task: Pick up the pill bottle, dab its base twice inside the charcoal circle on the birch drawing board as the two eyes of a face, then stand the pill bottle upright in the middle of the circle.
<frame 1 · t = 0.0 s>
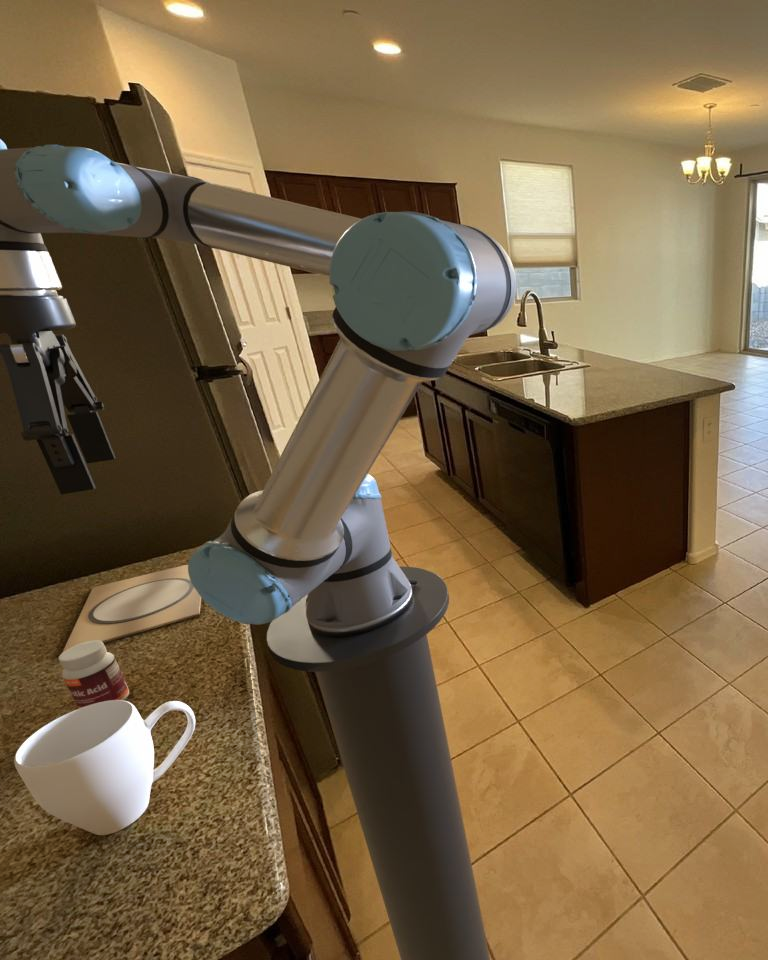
hand: (91, 475, 65), 29 cm above the countertop, tool pointing down, fingers open, 13 cm apart
pill bottle: (106, 703, 68), on the countertop
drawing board: (144, 601, 90), on the countertop
mug: (145, 803, 55), on the countertop
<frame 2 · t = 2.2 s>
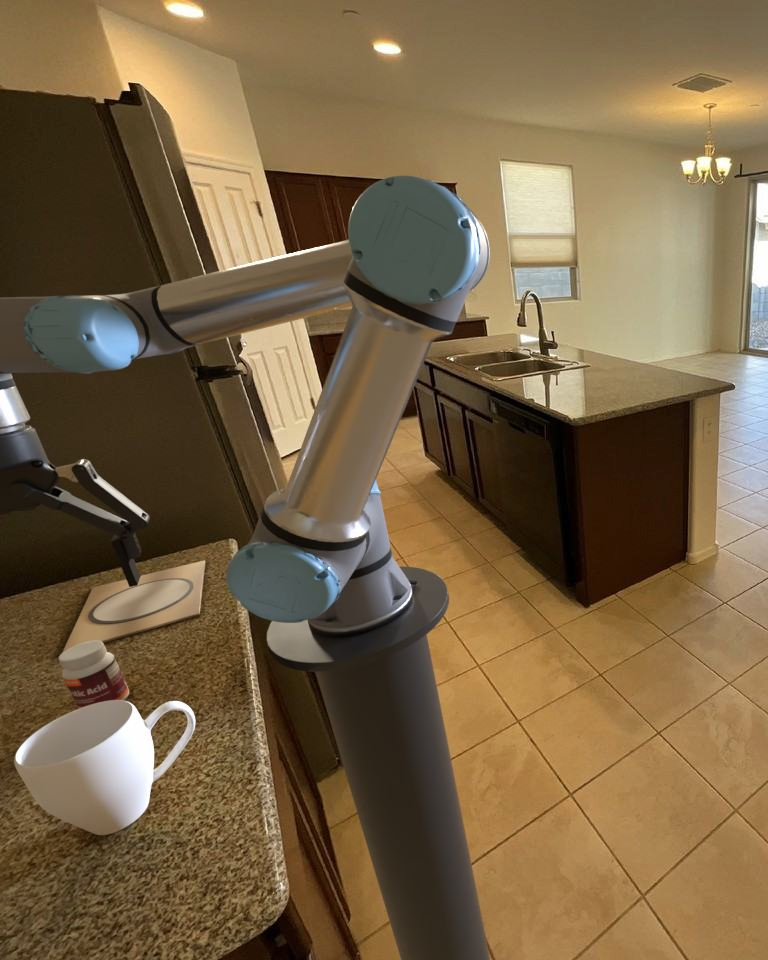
hand: (60, 599, 63), 16 cm above the countertop, tool pointing down, fingers open, 13 cm apart
nothing on the countertop moved.
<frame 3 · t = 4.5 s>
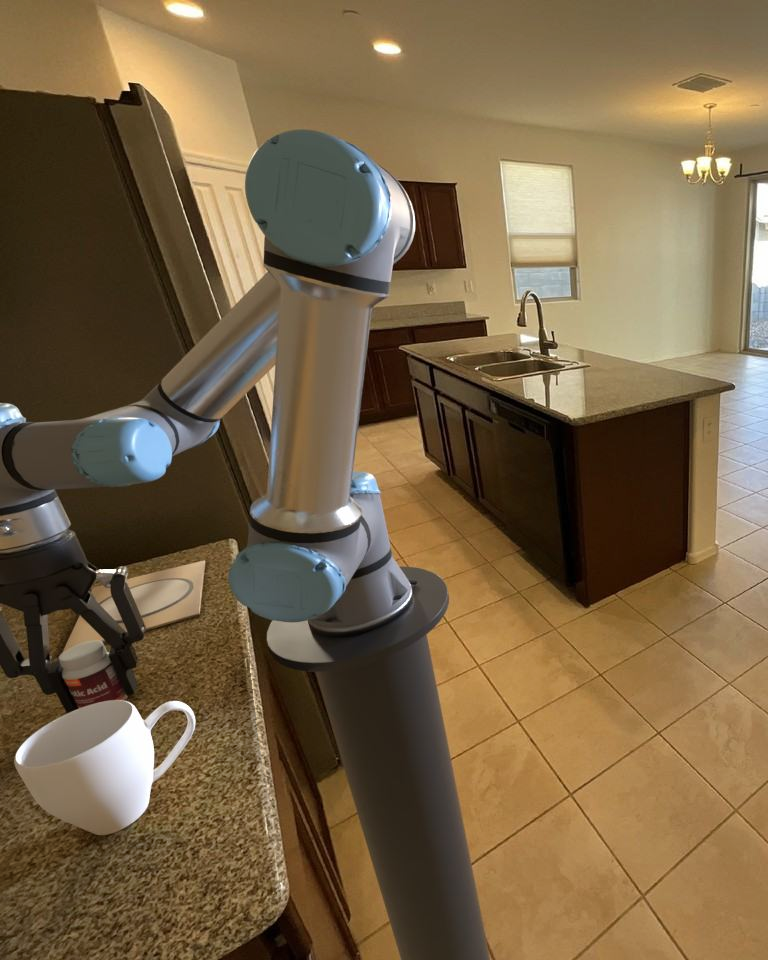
hand: (104, 697, 68), 1 cm above the countertop, tool pointing down, fingers closed on pill bottle, 5 cm apart
pill bottle: (106, 703, 68), on the countertop, touching gripper
everything else where it was.
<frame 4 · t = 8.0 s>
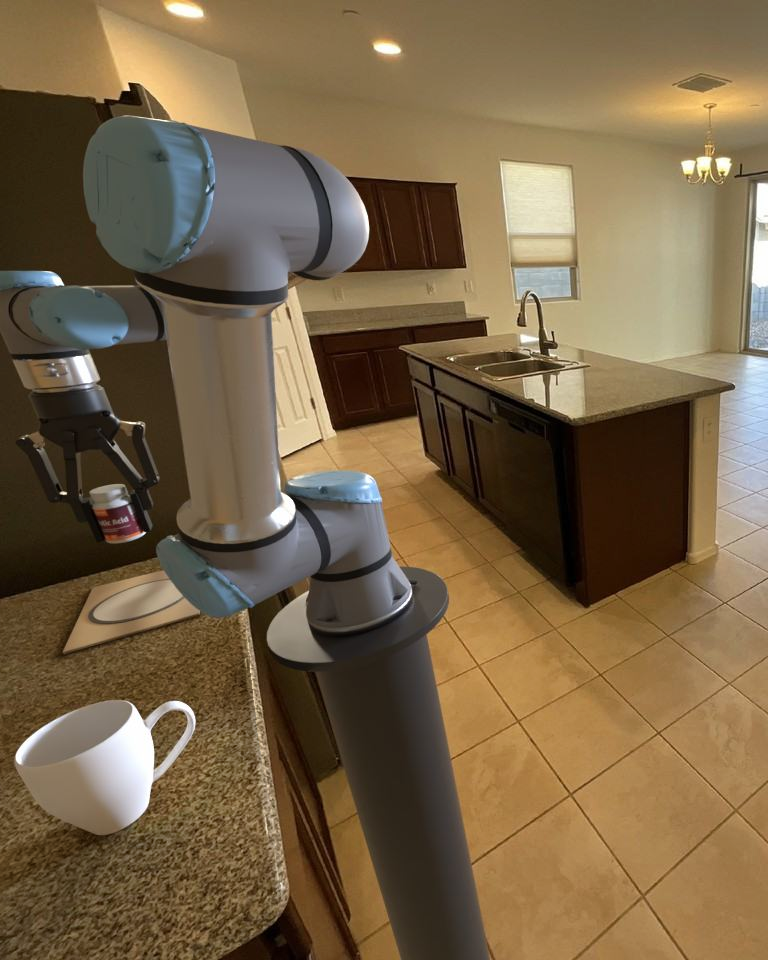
hand: (125, 533, 82), 14 cm above the countertop, tool pointing down, fingers closed on pill bottle, 5 cm apart
pill bottle: (127, 538, 83), point 14 cm above the countertop, touching gripper
everything else where it was.
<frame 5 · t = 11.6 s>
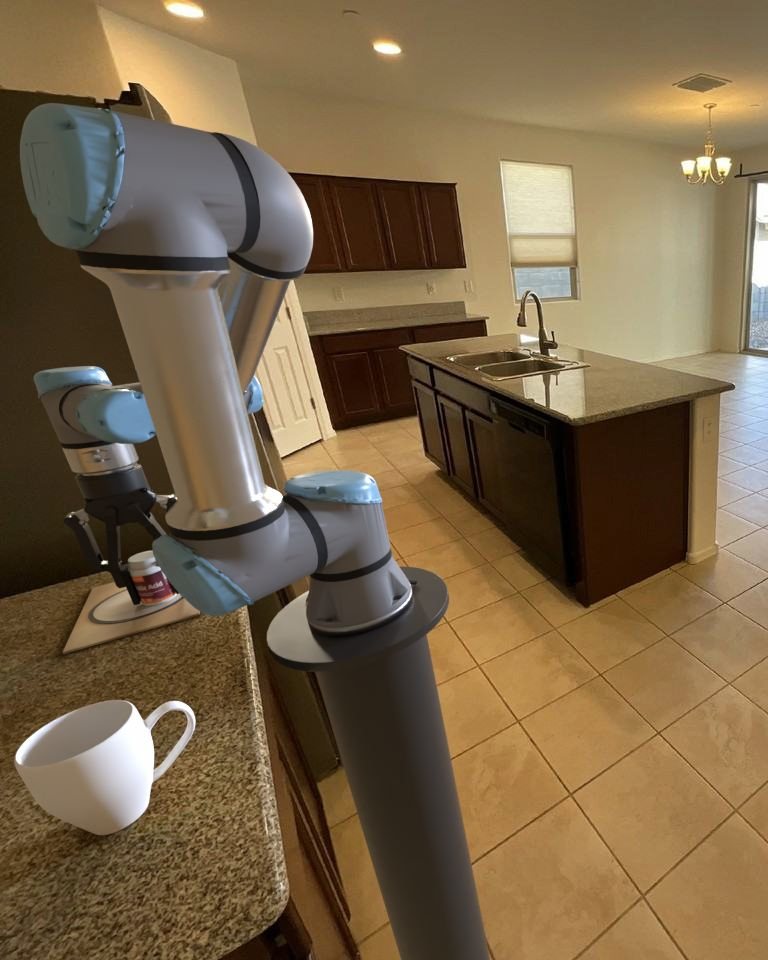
hand: (159, 595, 89), 1 cm above the countertop, tool pointing down, fingers closed on pill bottle, 5 cm apart
pill bottle: (161, 599, 90), resting on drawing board, touching gripper
everything else where it was.
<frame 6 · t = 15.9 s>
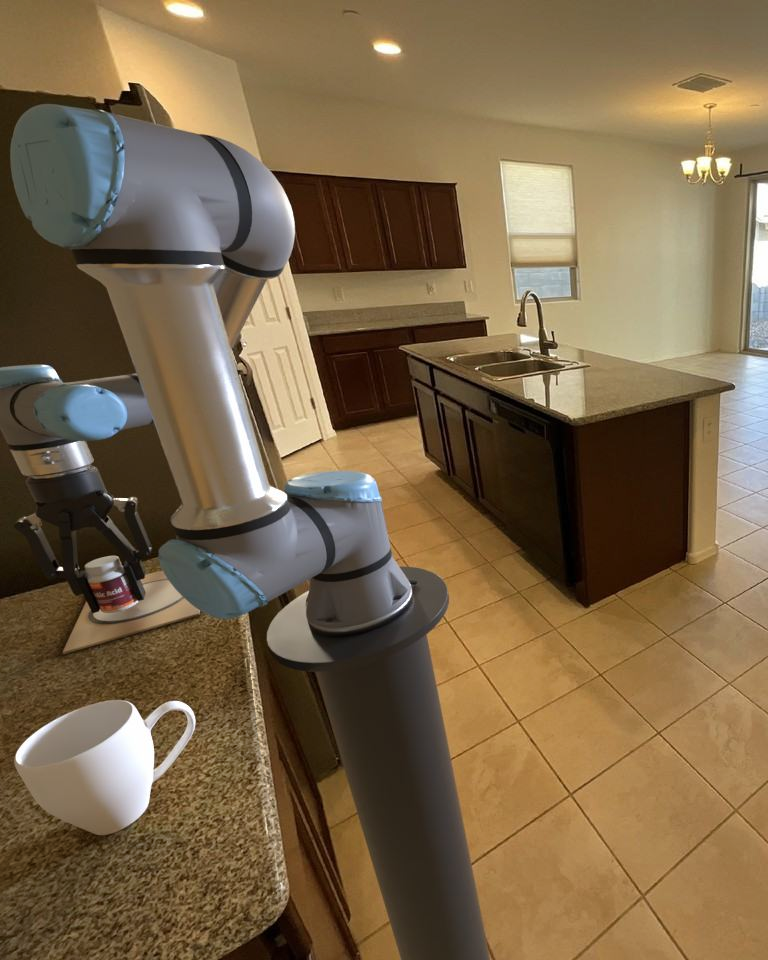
hand: (119, 602, 86), 2 cm above the countertop, tool pointing down, fingers closed on pill bottle, 5 cm apart
pill bottle: (121, 606, 86), point 1 cm above the countertop, touching gripper
everything else where it was.
when the fingers open (1 cm above the countertop, at t = 19.2 s): pill bottle stays where it is, resting on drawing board.
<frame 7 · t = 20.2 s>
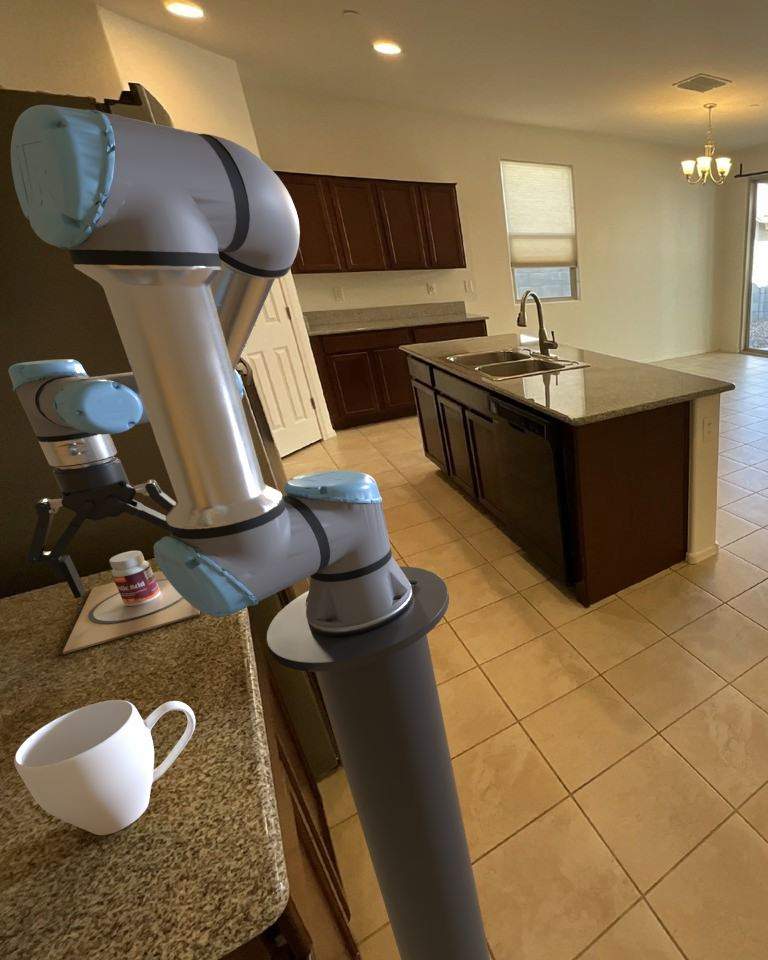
hand: (136, 580, 88), 4 cm above the countertop, tool pointing down, fingers open, 13 cm apart
pill bottle: (143, 599, 90), resting on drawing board
everything else where it was.
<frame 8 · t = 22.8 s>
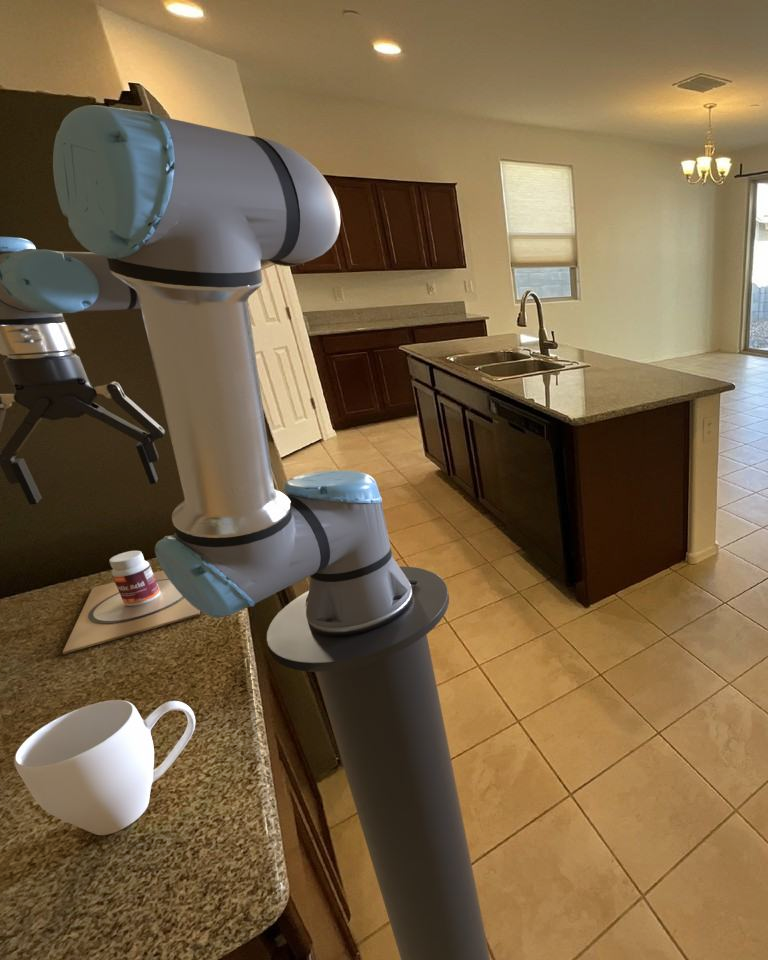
hand: (97, 491, 82), 21 cm above the countertop, tool pointing down, fingers open, 13 cm apart
nothing on the countertop moved.
at the end: pill bottle inside the target area on the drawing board (0.0 cm from its centre), point 0.4 cm above the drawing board's base; pill bottle tilted 0°; the gripper is holding nothing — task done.
